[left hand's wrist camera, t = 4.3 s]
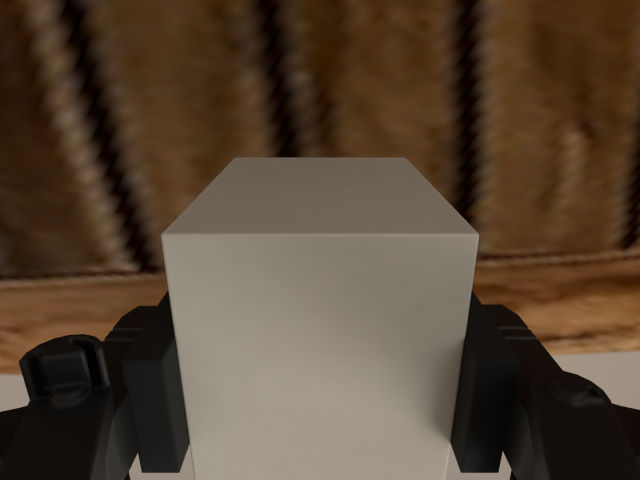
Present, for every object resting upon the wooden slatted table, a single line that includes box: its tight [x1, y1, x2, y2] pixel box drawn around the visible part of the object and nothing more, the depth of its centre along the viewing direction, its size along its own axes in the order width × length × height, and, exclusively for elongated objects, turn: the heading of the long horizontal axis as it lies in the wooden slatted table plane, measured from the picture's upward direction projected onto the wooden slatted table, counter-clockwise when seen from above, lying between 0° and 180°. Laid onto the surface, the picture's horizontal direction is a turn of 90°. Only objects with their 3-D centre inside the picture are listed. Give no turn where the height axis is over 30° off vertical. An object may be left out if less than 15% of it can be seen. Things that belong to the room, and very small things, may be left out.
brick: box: [161, 158, 479, 480], centre depth 12 cm, size 6×7×7 cm
